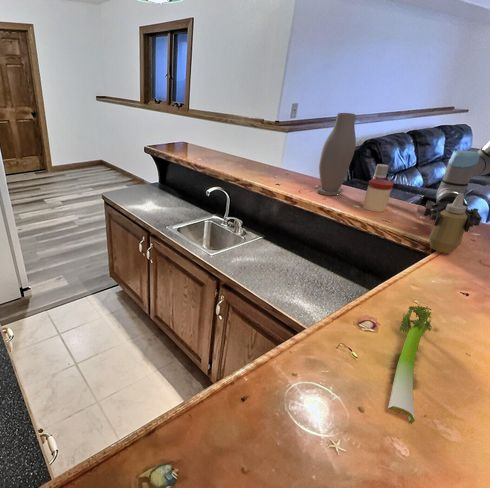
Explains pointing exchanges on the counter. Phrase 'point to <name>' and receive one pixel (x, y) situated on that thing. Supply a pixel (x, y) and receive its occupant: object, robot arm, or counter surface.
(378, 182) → the lid
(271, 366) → the counter surface
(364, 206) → the jar
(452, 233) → the squeeze bottle
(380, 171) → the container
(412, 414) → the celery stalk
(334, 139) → the vase
